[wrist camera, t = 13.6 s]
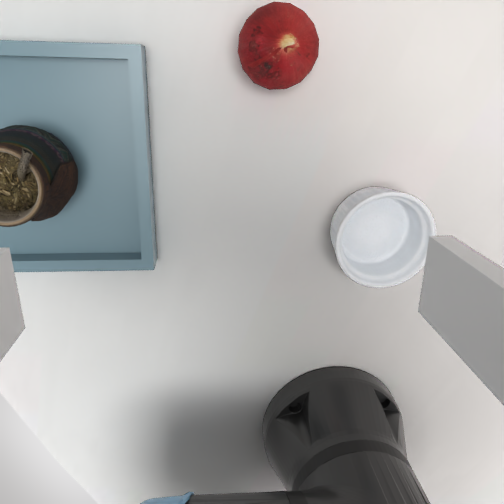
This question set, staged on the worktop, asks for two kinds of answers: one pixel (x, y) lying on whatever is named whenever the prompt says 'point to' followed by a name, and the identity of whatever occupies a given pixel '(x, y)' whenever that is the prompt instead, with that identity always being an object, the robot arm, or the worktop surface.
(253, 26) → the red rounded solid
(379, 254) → the ramekin
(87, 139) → the slate tray
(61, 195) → the mate gourd
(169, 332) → the worktop surface
